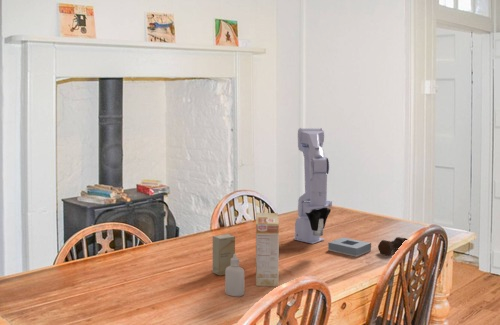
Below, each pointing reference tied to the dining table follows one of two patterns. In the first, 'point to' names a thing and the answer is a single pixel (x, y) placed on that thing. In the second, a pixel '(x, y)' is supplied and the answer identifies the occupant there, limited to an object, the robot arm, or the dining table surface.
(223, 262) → the skincare box
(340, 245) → the hole block
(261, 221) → the coffeecake box
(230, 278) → the eye dropper bottle
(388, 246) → the bolt
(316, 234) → the pin
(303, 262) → the dining table surface
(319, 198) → the robot arm
